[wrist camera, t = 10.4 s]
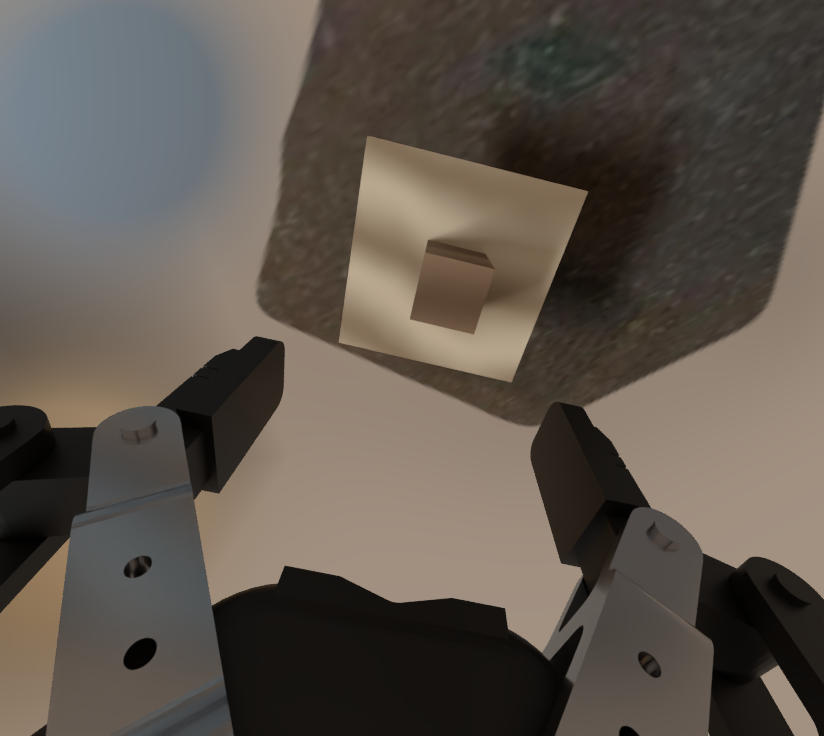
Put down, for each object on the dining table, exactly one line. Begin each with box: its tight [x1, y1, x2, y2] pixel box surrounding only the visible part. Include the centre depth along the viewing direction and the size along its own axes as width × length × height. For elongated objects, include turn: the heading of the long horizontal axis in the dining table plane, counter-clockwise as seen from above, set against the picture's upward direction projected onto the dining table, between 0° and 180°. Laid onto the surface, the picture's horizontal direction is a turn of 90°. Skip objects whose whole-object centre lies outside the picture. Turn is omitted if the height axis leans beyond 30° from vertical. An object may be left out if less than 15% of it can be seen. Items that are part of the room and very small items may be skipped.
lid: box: [339, 136, 588, 382], centre depth 23 cm, size 14×14×6 cm
